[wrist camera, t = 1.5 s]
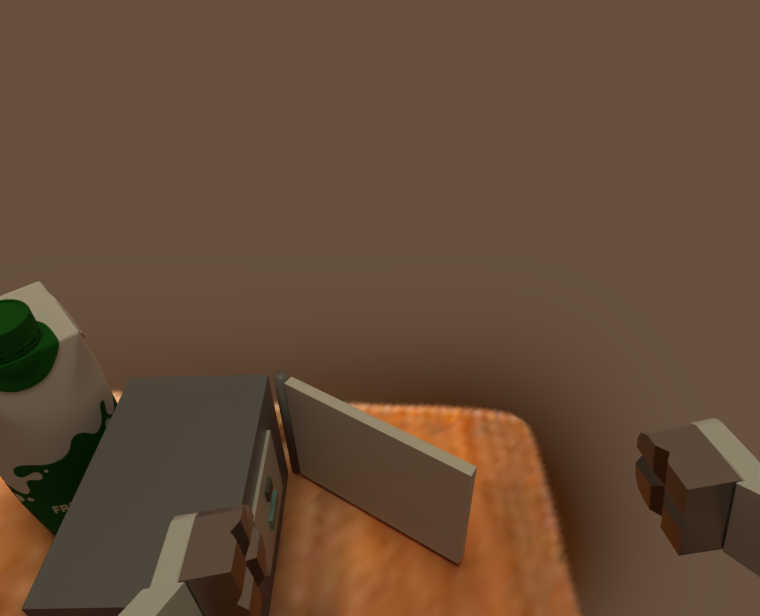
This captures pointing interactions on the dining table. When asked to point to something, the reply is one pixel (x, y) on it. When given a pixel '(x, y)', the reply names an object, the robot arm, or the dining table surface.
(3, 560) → the dining table surface
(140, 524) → the box
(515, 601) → the dining table surface
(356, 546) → the dining table surface
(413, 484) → the side door
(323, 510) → the dining table surface
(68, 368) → the milk carton
